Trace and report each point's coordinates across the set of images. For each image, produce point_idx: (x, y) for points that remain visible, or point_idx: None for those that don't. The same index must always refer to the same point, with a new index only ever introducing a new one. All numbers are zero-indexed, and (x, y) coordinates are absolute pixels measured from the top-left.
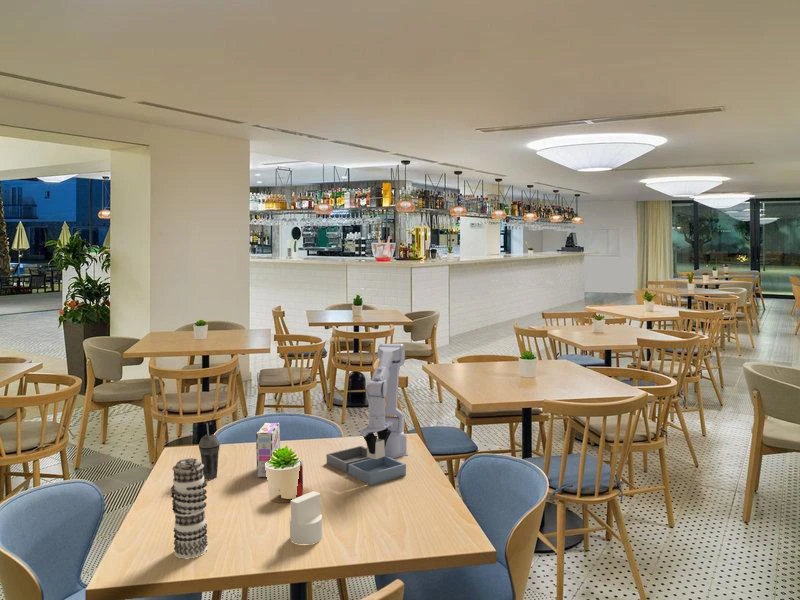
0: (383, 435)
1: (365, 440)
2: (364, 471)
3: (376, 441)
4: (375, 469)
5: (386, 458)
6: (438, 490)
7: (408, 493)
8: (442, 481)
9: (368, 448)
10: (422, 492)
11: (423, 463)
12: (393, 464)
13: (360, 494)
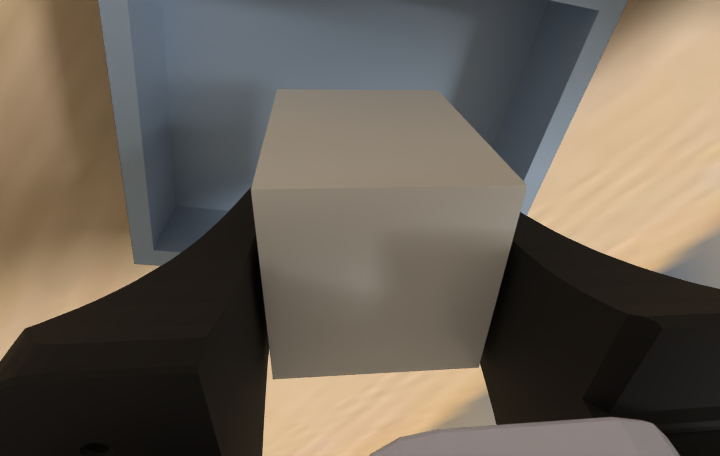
0: (517, 410)
1: (141, 282)
2: (132, 190)
3: (334, 350)
4: (416, 21)
5: (566, 68)
6: (385, 424)
7: (267, 385)
8: (485, 386)
9: (233, 211)
10: (322, 406)
11: (717, 186)
12: (510, 159)
13: (26, 263)
